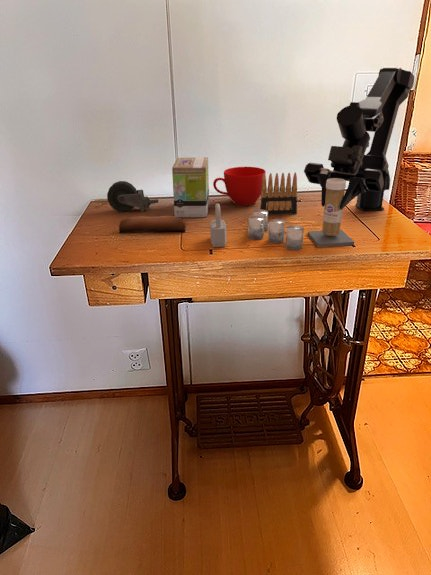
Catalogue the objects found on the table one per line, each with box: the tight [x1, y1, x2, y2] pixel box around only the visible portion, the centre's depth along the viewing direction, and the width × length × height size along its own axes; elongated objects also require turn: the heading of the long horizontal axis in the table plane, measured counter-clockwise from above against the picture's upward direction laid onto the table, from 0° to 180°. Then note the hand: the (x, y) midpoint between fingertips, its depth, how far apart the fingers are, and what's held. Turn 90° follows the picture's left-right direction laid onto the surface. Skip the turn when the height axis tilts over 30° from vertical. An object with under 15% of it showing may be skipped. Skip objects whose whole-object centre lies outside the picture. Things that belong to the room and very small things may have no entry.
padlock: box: [209, 202, 227, 248], centre depth 111 cm, size 7×4×10 cm, turn 2°
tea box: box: [171, 156, 210, 218], centre depth 134 cm, size 15×10×15 cm
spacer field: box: [247, 209, 305, 251], centre depth 113 cm, size 12×18×5 cm
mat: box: [307, 228, 355, 248], centre depth 113 cm, size 9×9×1 cm
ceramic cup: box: [212, 166, 266, 207], centre depth 140 cm, size 13×17×10 cm
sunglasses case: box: [118, 215, 187, 234], centre depth 123 cm, size 18×7×7 cm
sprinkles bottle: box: [321, 178, 347, 236], centre depth 109 cm, size 5×5×13 cm
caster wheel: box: [106, 180, 159, 213], centre depth 137 cm, size 6×10×15 cm
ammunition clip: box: [259, 172, 298, 216], centre depth 130 cm, size 11×2×12 cm, turn 90°
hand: (331, 207), depth 108 cm, fingers closed on sprinkles bottle, 4 cm apart
